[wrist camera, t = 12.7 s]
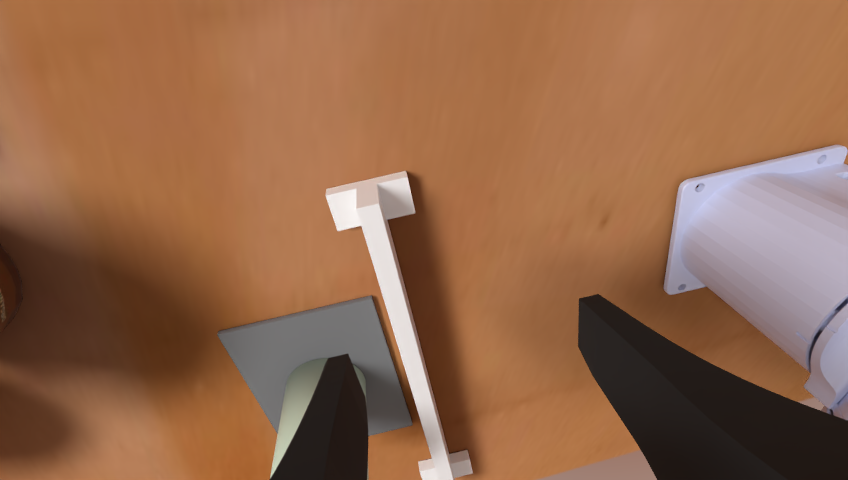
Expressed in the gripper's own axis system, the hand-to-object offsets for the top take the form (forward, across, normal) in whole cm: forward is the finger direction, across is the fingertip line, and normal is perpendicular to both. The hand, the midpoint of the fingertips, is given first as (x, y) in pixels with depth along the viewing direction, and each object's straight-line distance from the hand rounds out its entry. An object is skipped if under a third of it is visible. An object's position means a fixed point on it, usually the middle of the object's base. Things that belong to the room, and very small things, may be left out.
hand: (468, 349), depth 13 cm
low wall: (+10, +2, +11) cm, 15 cm away
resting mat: (+10, +8, +11) cm, 17 cm away
